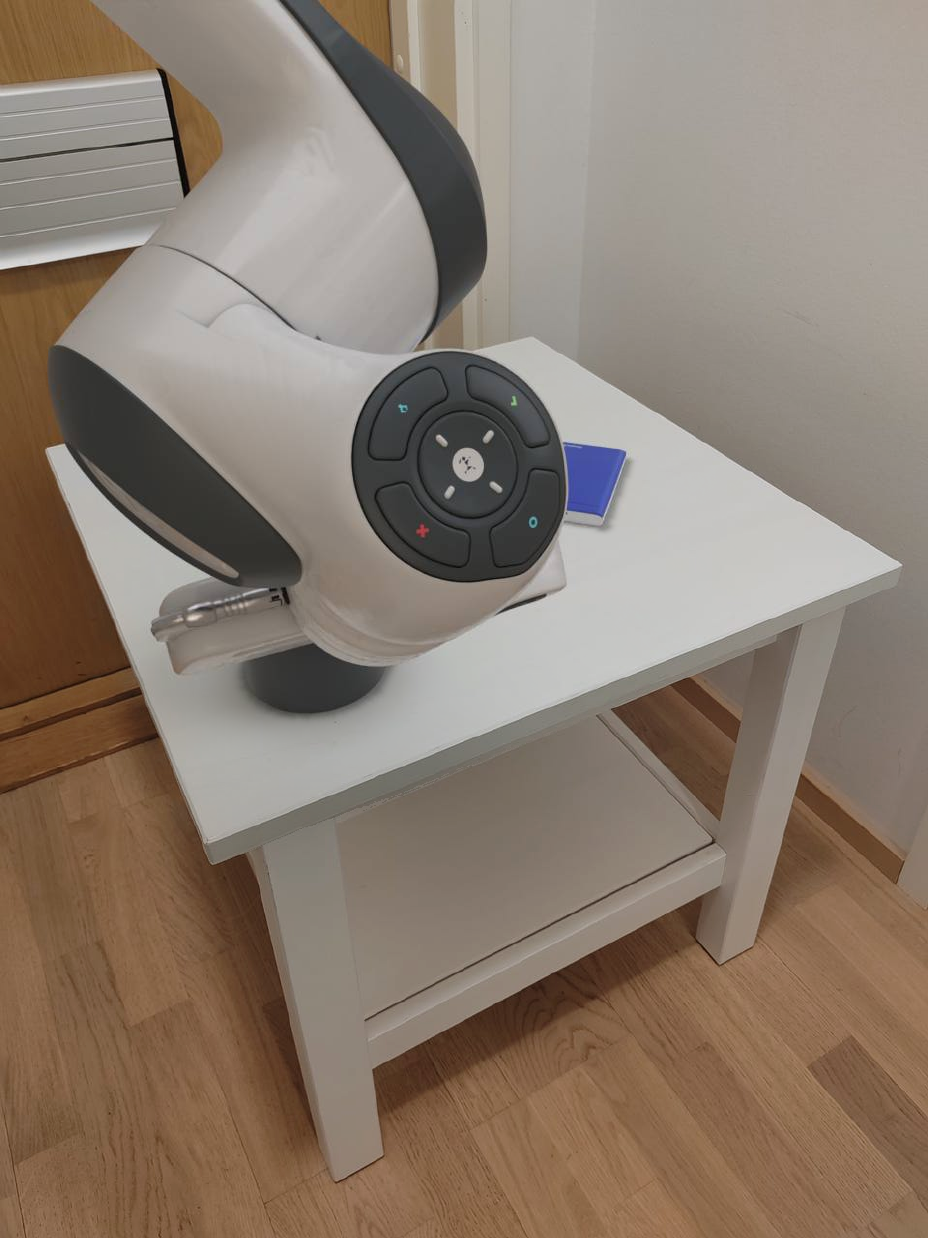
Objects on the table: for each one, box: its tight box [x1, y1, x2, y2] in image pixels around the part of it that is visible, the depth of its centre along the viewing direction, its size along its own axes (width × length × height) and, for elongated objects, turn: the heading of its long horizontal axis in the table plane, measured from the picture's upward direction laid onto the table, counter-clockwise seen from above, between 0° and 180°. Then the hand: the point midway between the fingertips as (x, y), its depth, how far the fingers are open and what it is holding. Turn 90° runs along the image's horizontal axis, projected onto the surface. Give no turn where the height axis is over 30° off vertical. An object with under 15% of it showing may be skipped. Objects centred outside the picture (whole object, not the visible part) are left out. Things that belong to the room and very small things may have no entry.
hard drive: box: [562, 441, 627, 527], centre depth 95 cm, size 2×8×12 cm
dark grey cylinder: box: [242, 643, 386, 714], centre depth 75 cm, size 17×11×9 cm, turn 17°
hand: (343, 611), depth 56 cm, fingers closed
